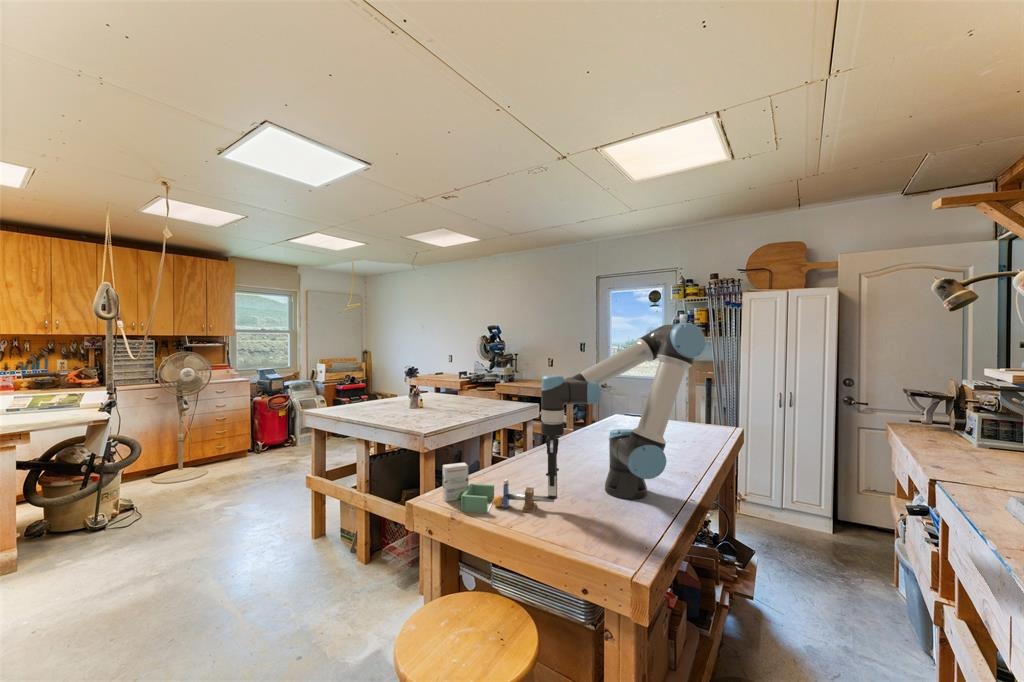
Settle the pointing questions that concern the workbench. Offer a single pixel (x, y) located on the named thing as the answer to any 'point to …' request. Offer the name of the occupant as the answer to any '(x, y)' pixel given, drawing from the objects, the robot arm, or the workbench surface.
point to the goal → (477, 498)
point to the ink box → (454, 481)
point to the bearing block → (529, 501)
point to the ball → (498, 500)
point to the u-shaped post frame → (522, 497)
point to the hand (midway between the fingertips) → (552, 492)
